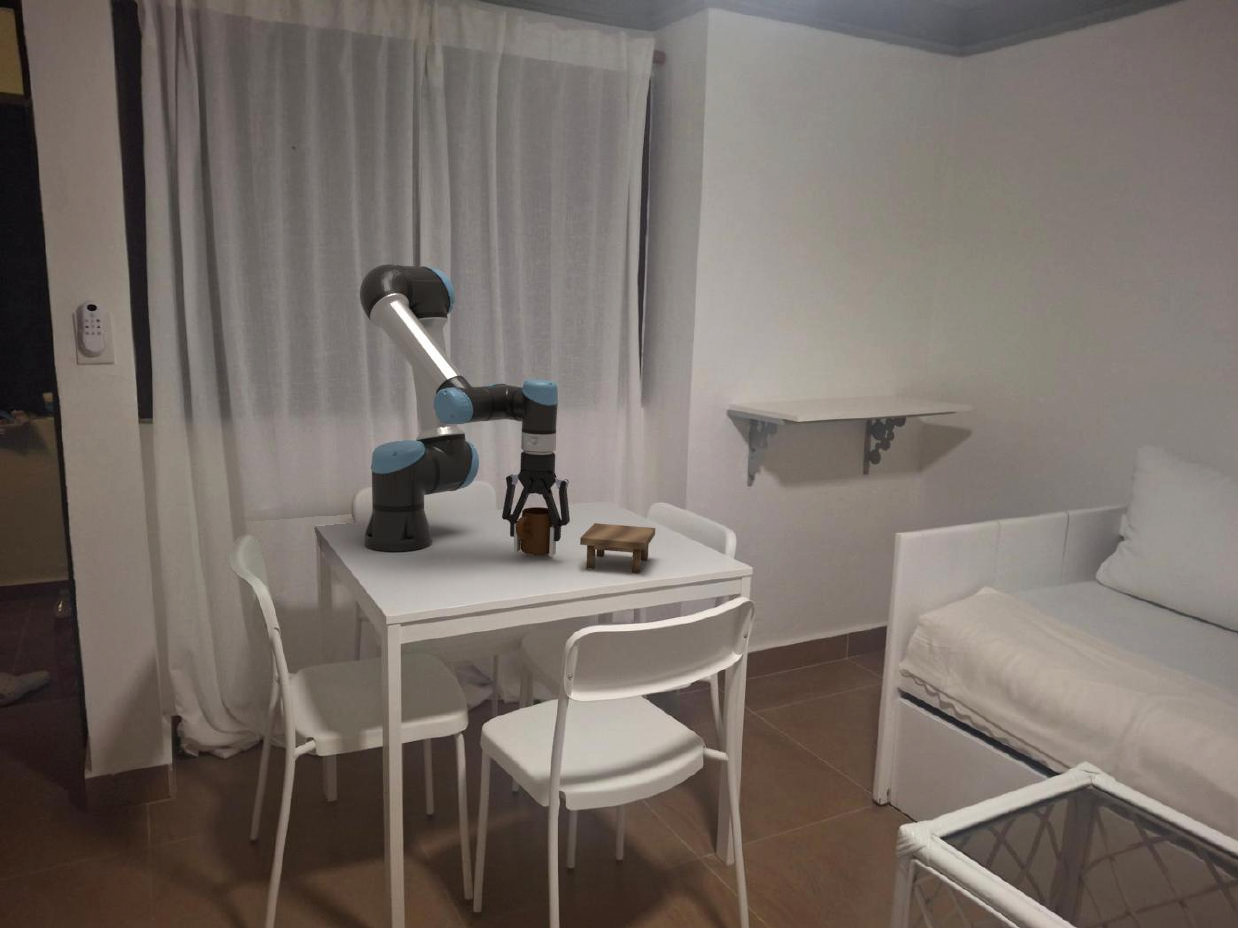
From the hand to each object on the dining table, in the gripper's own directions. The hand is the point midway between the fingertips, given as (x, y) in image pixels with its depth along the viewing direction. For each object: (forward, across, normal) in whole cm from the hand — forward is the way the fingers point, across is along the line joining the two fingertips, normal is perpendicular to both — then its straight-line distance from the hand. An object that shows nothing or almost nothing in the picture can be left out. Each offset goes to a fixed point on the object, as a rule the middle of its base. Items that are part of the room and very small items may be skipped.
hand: (534, 552), depth 200 cm
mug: (+1, -1, 0) cm, 1 cm away
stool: (+1, +19, +2) cm, 19 cm away
